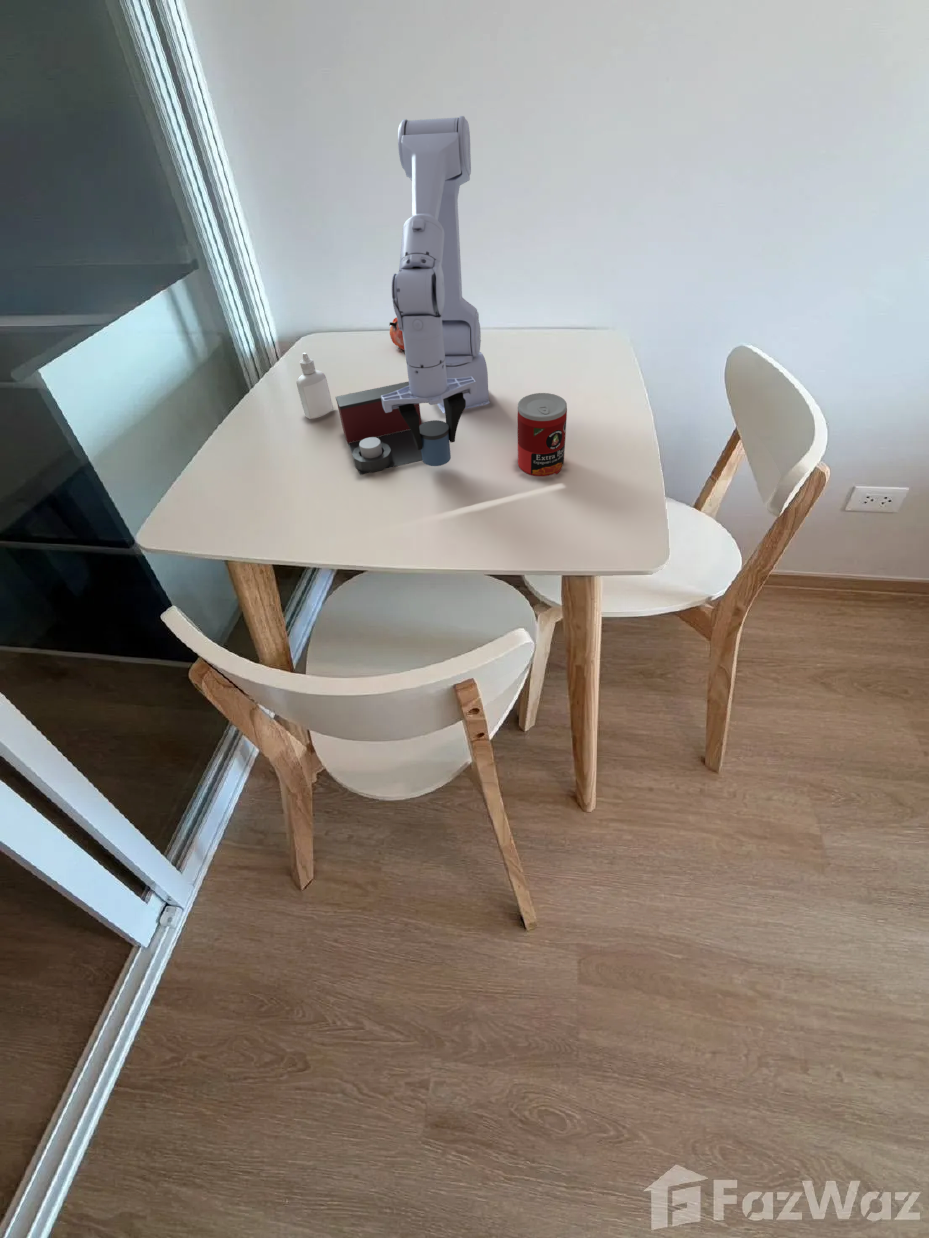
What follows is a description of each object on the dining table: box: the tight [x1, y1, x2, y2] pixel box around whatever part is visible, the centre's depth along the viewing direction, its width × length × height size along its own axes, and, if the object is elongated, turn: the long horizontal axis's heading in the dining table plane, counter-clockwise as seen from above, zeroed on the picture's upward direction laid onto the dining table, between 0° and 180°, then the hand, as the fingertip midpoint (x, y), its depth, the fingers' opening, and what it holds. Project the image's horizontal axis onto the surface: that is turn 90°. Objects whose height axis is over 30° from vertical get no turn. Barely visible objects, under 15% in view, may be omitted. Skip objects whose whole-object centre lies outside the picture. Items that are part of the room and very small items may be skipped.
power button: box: [359, 437, 382, 458], centre depth 105 cm, size 4×4×2 cm
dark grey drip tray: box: [347, 429, 423, 476], centre depth 109 cm, size 11×14×3 cm
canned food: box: [516, 392, 568, 477], centre depth 100 cm, size 8×8×11 cm
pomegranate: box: [388, 317, 405, 351], centre depth 138 cm, size 7×7×10 cm
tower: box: [335, 381, 423, 444], centre depth 112 cm, size 5×14×8 cm, turn 108°
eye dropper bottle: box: [296, 352, 334, 420], centre depth 117 cm, size 4×6×12 cm
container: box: [419, 419, 452, 467], centre depth 100 cm, size 5×5×6 cm
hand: (434, 443), depth 100 cm, fingers closed on container, 5 cm apart
